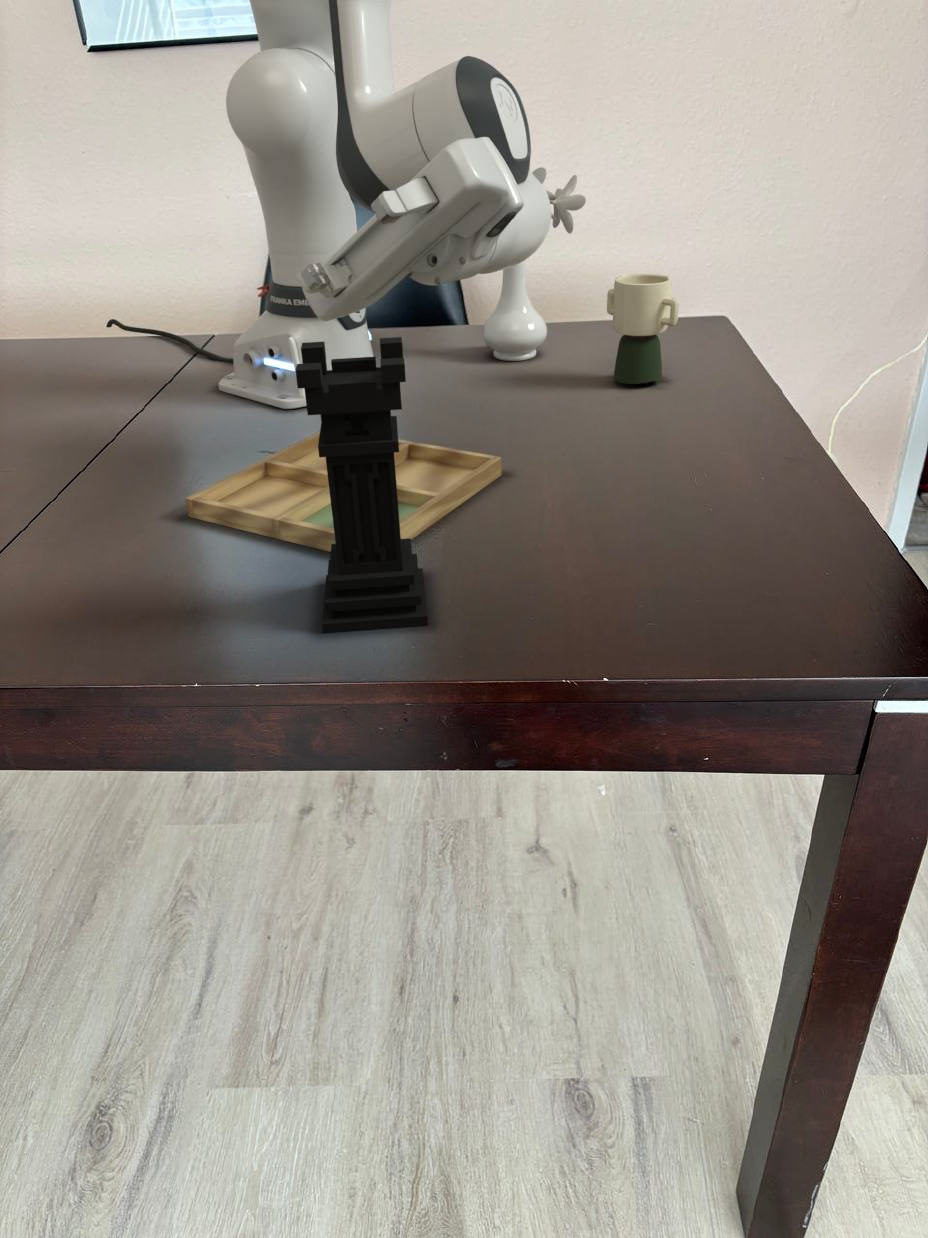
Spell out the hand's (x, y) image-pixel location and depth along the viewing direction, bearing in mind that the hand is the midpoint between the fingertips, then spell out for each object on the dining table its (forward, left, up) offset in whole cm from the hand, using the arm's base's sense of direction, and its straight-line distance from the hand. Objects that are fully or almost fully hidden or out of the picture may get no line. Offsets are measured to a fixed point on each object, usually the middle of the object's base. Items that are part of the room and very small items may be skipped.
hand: (341, 245), depth 73 cm
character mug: (+4, +55, -25) cm, 60 cm away
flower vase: (-17, +61, -25) cm, 68 cm away
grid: (-8, +8, -25) cm, 27 cm away
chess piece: (+7, -9, -25) cm, 28 cm away
